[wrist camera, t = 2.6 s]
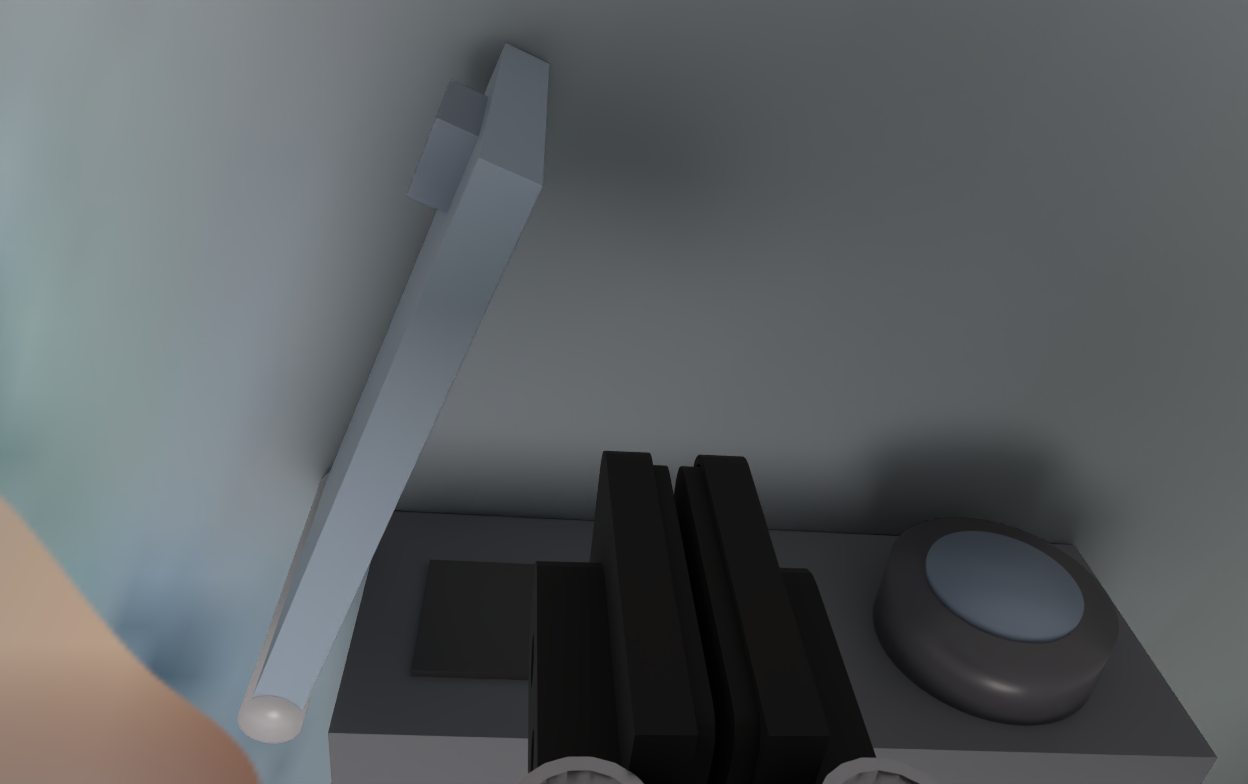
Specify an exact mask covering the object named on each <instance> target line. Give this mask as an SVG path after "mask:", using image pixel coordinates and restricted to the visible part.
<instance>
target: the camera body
mask: <svg viewBox="0 0 1248 784" xmlns="http://www.w3.org/2000/svg"><path fill="white" fill-rule="evenodd" d="M593 528H594V521H580V520H560V519H539V518H519V517H499V516H479V515H458V514H438V513H418V512H398V511H393V514H392V516H391V518H390V520H389V522H388V524H387V527H386V529H385V531H384V533H383V535H382V538H381V540H380V542H379V544H378V546H377V548H376V551H375V553H374V555H373V557H372V560H371V564H370V568H369V572H368V576H367V580H366V584H365V588H364V592H363V596H362V600H361V604H360V608H359V612H358V616H357V620H356V624H355V628H354V632H353V636H352V640H351V644H350V648H349V652H348V656H347V660H346V664H345V668H344V672H343V676H342V680H341V684H340V688H339V692H338V696H337V700H336V704H335V708H334V712H333V716H332V720H331V724H330V728H329V732H328V737H329V751H330V764H331V778H332V784H518V783H519V782H520V781H521V780H522V779H523V777H524V776H525V775H527V774H528V680H529V643H530V622H531V606H532V593H533V580H534V569H535V562H536V561H554V562H590V554H591V545H592V536H593ZM768 531H769V534H770V538H771V541H772V544H773V548H774V551H775V554H776V557H777V561H778V564H779V567H780V568H807V569H808V570H809V571H810V572H811V573H812V574H813V577H814V579H815V581H816V583H817V586H818V589H819V592H820V595H821V597H822V600H823V603H824V606H825V609H826V612H827V615H828V618H829V621H830V624H831V627H832V630H833V632H834V635H835V638H836V641H837V644H838V647H839V650H840V653H841V656H842V659H843V662H844V665H845V667H846V670H847V673H848V676H849V679H850V682H851V685H852V688H853V691H854V694H855V697H856V700H857V702H858V705H859V708H860V711H861V714H862V717H863V720H864V723H865V726H866V729H867V732H868V735H869V737H870V740H871V743H872V746H873V749H874V752H875V755H876V758H887V759H890V760H894V761H898V762H901V763H905V764H908V765H910V766H912V767H914V768H916V769H918V770H919V771H921V772H923V773H925V774H927V775H929V776H930V777H932V778H933V779H934V780H935V781H936V782H937V783H939V784H1201V783H1202V782H1203V780H1204V778H1205V777H1206V775H1207V774H1208V772H1209V770H1210V769H1211V767H1212V766H1213V764H1214V762H1215V761H1216V759H1217V756H1216V755H1215V753H1214V752H1213V750H1212V749H1211V747H1210V746H1209V744H1208V743H1207V741H1206V740H1205V738H1204V737H1203V735H1202V734H1201V733H1200V731H1199V730H1198V728H1197V727H1196V725H1195V724H1194V722H1193V721H1192V719H1191V718H1190V716H1189V715H1188V713H1187V712H1186V710H1185V709H1184V707H1183V706H1182V704H1181V703H1180V701H1179V700H1178V698H1177V697H1176V695H1175V694H1174V692H1173V691H1172V689H1171V688H1170V687H1169V685H1168V684H1167V682H1166V681H1165V679H1164V678H1163V676H1162V675H1161V673H1160V672H1159V670H1158V669H1157V667H1156V666H1155V664H1154V663H1153V661H1152V660H1151V658H1150V657H1149V655H1148V654H1147V652H1146V651H1145V649H1144V648H1143V646H1142V645H1141V643H1140V642H1139V641H1138V639H1137V638H1136V636H1135V635H1134V633H1133V632H1132V630H1131V629H1130V627H1129V626H1128V624H1127V623H1126V621H1125V620H1124V618H1123V617H1122V615H1121V614H1120V612H1119V611H1118V609H1117V608H1116V606H1115V605H1114V603H1113V602H1112V600H1111V599H1110V597H1109V596H1108V594H1107V592H1106V591H1105V590H1104V588H1103V587H1102V586H1101V584H1100V583H1099V581H1098V580H1097V578H1096V577H1095V575H1094V574H1093V572H1092V571H1091V569H1090V568H1089V566H1088V565H1087V563H1086V562H1085V560H1084V559H1083V557H1082V556H1081V554H1080V553H1079V551H1078V550H1077V548H1076V547H1075V546H1074V545H1065V544H1049V543H1048V542H1046V541H1044V540H1042V539H1040V538H1038V537H1036V536H1033V535H1031V534H1029V533H1026V532H1024V531H1021V530H1019V529H1016V528H1013V527H1010V526H1007V525H1003V524H999V523H995V522H991V521H986V520H980V519H973V518H960V517H949V518H938V519H933V520H928V521H925V522H922V523H918V524H916V525H914V526H912V527H910V528H908V529H907V530H906V531H904V532H903V533H902V534H901V535H900V536H883V535H863V534H843V533H822V532H802V531H782V530H768Z"/></svg>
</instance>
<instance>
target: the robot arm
mask: <svg viewBox="0 0 1248 784" xmlns="http://www.w3.org/2000/svg"><path fill="white" fill-rule="evenodd" d="M518 784H939V783H937V782H936V781H935V780H934V779H933V778H932V777H930V776H929V775H927V774H925V773H923V772H921V771H919V770H918V769H916V768H914V767H912V766H910V765H908V764H905V763H901V762H898V761H894V760H890V759H887V758H876V755H875V752H874V749H873V746H872V743H871V740H870V737H869V735H868V732H867V729H866V726H865V723H864V720H863V717H862V714H861V711H860V708H859V705H858V702H857V700H856V697H855V694H854V691H853V688H852V685H851V682H850V679H849V676H848V673H847V670H846V667H845V665H844V662H843V659H842V656H841V653H840V650H839V647H838V644H837V641H836V638H835V635H834V632H833V630H832V627H831V624H830V621H829V618H828V615H827V612H826V609H825V606H824V603H823V600H822V597H821V595H820V592H819V589H818V586H817V583H816V581H815V579H814V577H813V574H812V573H811V572H810V571H809V570H808V569H807V568H780V567H779V564H778V561H777V557H776V554H775V551H774V548H773V544H772V541H771V538H770V534H769V531H768V528H767V524H766V521H765V518H764V515H763V511H762V508H761V505H760V501H759V498H758V495H757V492H756V488H755V485H754V482H753V478H752V475H751V472H750V469H749V465H748V462H747V460H746V458H744V457H740V456H716V455H698V456H697V458H696V460H695V463H694V467H687V466H681V467H680V468H679V470H678V474H677V479H676V485H675V491H674V495H673V489H672V484H671V479H670V473H669V469H668V467H667V466H662V465H653V462H652V458H651V454H650V453H643V452H618V451H604V452H603V455H602V460H601V467H600V475H599V484H598V493H597V501H596V510H595V519H594V528H593V536H592V545H591V554H590V562H554V561H536V562H535V569H534V580H533V593H532V606H531V622H530V643H529V680H528V774H527V775H525V776H524V777H523V779H522V780H521V781H520V782H519V783H518Z"/></svg>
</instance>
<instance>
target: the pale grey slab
mask: <svg viewBox="0 0 1248 784" xmlns="http://www.w3.org/2000/svg"><path fill="white" fill-rule="evenodd" d="M548 81H549V63H547V62H544V61H542V60H540V59H538V58H536V57H534V56H532V55H530V54H528V53H526V52H524V51H521V50H519V49H517V48H515V47H513V46H511V45H509V44H507V43H505V45H504V47H503V50H502V52H501V54H500V57H499V59H498V62H497V64H496V67H495V69H494V72H493V74H492V76H491V79H490V81H489V84H488V86H487V89H486V91H485V94H481V93H479V92H477V91H475V90H473V89H470V88H468V87H466V86H464V85H462V84H460V83H457V82H455V81H453V80H450V83H449V85H448V88H447V91H446V93H445V96H444V98H443V101H442V103H441V106H440V109H439V111H438V114H437V116H436V119H435V121H434V124H433V126H432V129H431V132H430V134H429V137H428V139H427V142H426V144H425V147H424V150H423V152H422V155H421V157H420V160H419V162H418V165H417V168H416V170H415V173H414V175H413V178H412V180H411V183H410V186H409V188H408V191H407V193H406V197H408V198H410V199H413V200H415V201H418V202H420V203H422V204H425V205H427V206H429V207H432V208H434V209H437V211H436V213H435V216H434V218H433V221H432V223H431V226H430V228H429V230H428V233H427V235H426V238H425V240H424V243H423V245H422V248H421V250H420V253H419V255H418V257H417V260H416V262H415V265H414V267H413V270H412V272H411V275H410V277H409V279H408V282H407V284H406V287H405V289H404V292H403V294H402V297H401V299H400V301H399V304H398V306H397V309H396V311H395V314H394V316H393V319H392V321H391V323H390V326H389V328H388V331H387V333H386V336H385V338H384V341H383V343H382V345H381V348H380V350H379V353H378V355H377V358H376V360H375V363H374V365H373V367H372V370H371V372H370V375H369V377H368V380H367V382H366V385H365V387H364V389H363V392H362V394H361V397H360V399H359V402H358V404H357V407H356V409H355V411H354V414H353V416H352V419H351V421H350V424H349V426H348V429H347V431H346V433H345V436H344V438H343V441H342V443H341V446H340V448H339V451H338V453H337V455H336V458H335V460H334V463H333V465H332V468H331V470H330V472H329V473H327V474H326V475H325V476H324V477H323V478H322V479H321V481H320V484H319V487H318V490H317V493H316V496H315V498H314V501H313V504H312V507H311V510H310V513H309V516H308V518H307V521H306V524H305V527H304V530H303V533H302V535H301V538H300V541H299V544H298V547H297V550H296V552H295V555H294V558H293V561H292V564H291V567H290V570H289V572H288V575H287V578H286V581H285V584H284V587H283V589H282V592H281V595H280V598H279V601H278V604H277V607H276V609H275V612H274V615H273V618H272V621H271V624H270V626H269V629H268V632H267V635H266V638H265V641H264V644H263V646H262V649H261V652H260V655H259V658H258V661H257V663H256V666H255V669H254V672H253V675H252V678H251V681H250V683H249V686H248V689H247V692H246V695H245V698H244V700H243V703H242V706H241V709H240V712H239V715H238V724H239V727H240V728H241V730H242V731H243V732H244V733H245V734H246V735H247V736H249V737H251V738H253V739H255V740H257V741H260V742H265V743H282V742H286V741H289V740H291V739H293V738H295V737H296V736H297V735H298V734H299V732H300V731H301V728H302V725H303V721H304V717H305V714H306V710H307V707H308V703H309V699H310V696H311V692H312V689H313V686H314V684H315V681H316V679H317V677H318V675H319V673H320V670H321V668H322V666H323V664H324V662H325V660H326V657H327V655H328V653H329V651H330V649H331V646H332V644H333V642H334V640H335V638H336V636H337V633H338V631H339V629H340V627H341V625H342V623H343V620H344V618H345V616H346V614H347V612H348V609H349V607H350V605H351V603H352V601H353V599H354V596H355V594H356V592H357V590H358V588H359V585H360V583H361V581H362V579H363V577H364V575H365V572H366V570H367V568H368V566H369V564H370V562H371V559H372V557H373V555H374V553H375V551H376V548H377V546H378V544H379V542H380V540H381V538H382V535H383V533H384V531H385V529H386V527H387V524H388V522H389V520H390V518H391V516H392V514H393V511H394V509H395V507H396V505H397V503H398V501H399V498H400V496H401V494H402V492H403V490H404V487H405V485H406V483H407V481H408V479H409V477H410V474H411V472H412V470H413V468H414V466H415V463H416V461H417V459H418V457H419V455H420V453H421V450H422V448H423V446H424V444H425V442H426V440H427V437H428V435H429V433H430V431H431V429H432V426H433V424H434V422H435V420H436V418H437V416H438V413H439V411H440V409H441V407H442V405H443V402H444V400H445V398H446V396H447V394H448V392H449V389H450V387H451V385H452V383H453V381H454V379H455V376H456V374H457V372H458V370H459V368H460V365H461V363H462V361H463V359H464V357H465V355H466V352H467V350H468V348H469V346H470V344H471V341H472V339H473V337H474V335H475V333H476V331H477V328H478V326H479V324H480V322H481V320H482V317H483V315H484V313H485V311H486V309H487V307H488V304H489V302H490V300H491V298H492V296H493V294H494V291H495V289H496V287H497V285H498V283H499V280H500V278H501V276H502V274H503V272H504V270H505V267H506V265H507V263H508V261H509V259H510V256H511V254H512V252H513V250H514V248H515V246H516V243H517V241H518V239H519V237H520V235H521V233H522V230H523V228H524V226H525V224H526V222H527V219H528V217H529V215H530V213H531V211H532V209H533V206H534V204H535V202H536V200H537V198H538V195H539V193H540V191H541V189H542V187H543V174H544V156H545V137H546V118H547V100H548Z"/></svg>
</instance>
